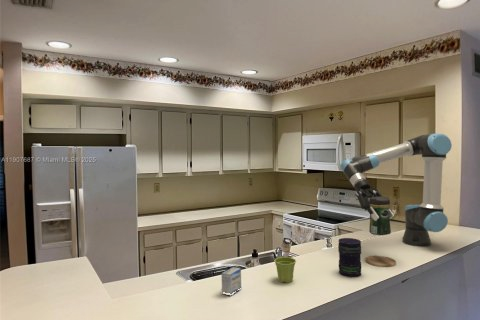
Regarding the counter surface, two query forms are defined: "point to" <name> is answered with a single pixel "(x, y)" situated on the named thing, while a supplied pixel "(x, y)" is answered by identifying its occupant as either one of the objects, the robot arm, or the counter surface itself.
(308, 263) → the counter surface
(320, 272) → the counter surface
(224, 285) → the medicine box
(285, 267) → the plant pot
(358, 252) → the storage jar
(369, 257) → the plate
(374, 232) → the coffee jar
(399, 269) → the counter surface
